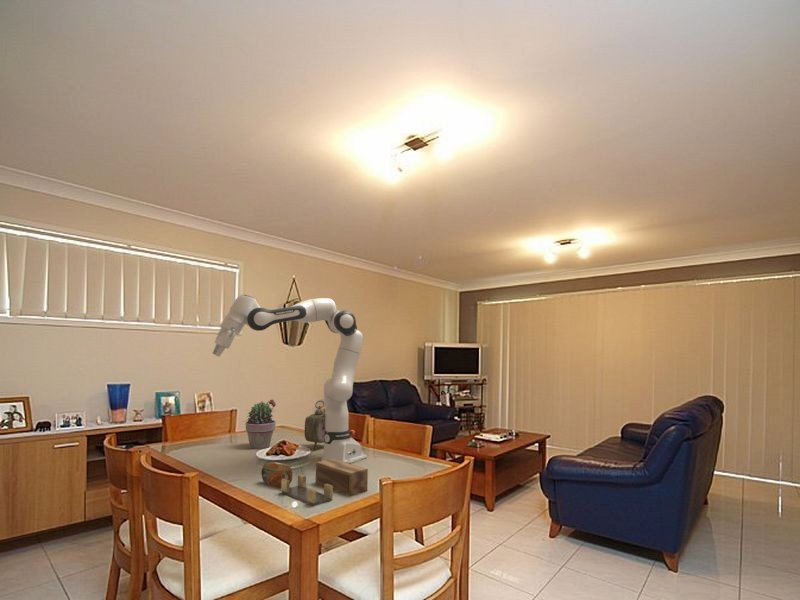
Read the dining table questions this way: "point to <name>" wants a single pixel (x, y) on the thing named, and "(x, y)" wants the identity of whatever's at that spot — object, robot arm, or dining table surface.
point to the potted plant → (260, 425)
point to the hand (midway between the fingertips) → (215, 355)
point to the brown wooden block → (342, 476)
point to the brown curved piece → (276, 473)
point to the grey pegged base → (307, 492)
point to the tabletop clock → (315, 426)
